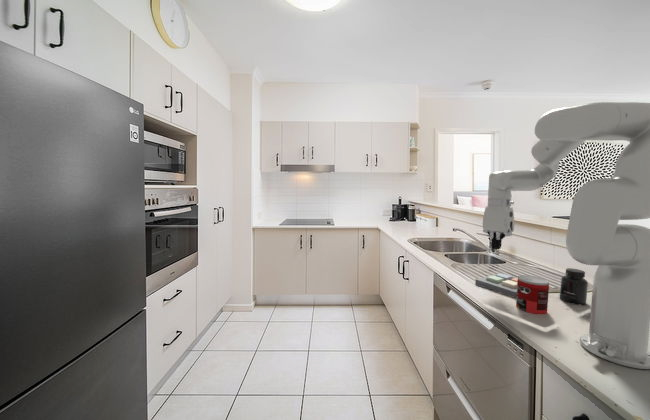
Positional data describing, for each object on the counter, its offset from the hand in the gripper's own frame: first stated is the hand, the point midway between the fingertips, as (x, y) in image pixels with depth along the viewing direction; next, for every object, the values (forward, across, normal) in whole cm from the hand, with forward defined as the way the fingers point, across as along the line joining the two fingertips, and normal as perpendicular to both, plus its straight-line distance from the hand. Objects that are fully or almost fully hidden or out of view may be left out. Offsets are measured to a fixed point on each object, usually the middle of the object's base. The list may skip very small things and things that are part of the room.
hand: (496, 248), depth 105 cm
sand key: (+14, -6, 0) cm, 15 cm away
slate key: (+14, 0, -6) cm, 15 cm away
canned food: (+16, -18, +11) cm, 27 cm away
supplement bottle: (+16, -22, -9) cm, 28 cm away
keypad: (+16, -4, -3) cm, 17 cm away
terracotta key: (+14, -6, -6) cm, 16 cm away
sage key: (+14, 0, 0) cm, 14 cm away
